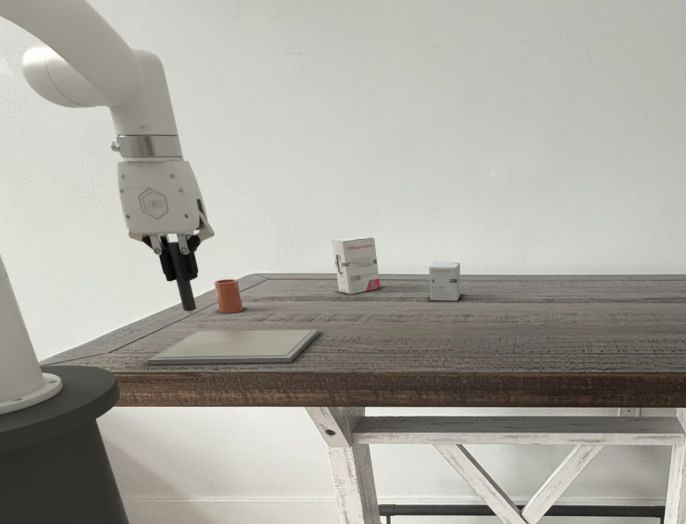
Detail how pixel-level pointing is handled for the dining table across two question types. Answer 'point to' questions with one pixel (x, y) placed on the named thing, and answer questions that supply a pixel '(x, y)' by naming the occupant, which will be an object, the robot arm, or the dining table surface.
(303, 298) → the dining table surface
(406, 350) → the dining table surface
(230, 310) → the pen cup
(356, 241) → the ink box
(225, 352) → the tablet
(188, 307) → the stylus
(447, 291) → the product carton
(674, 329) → the dining table surface
